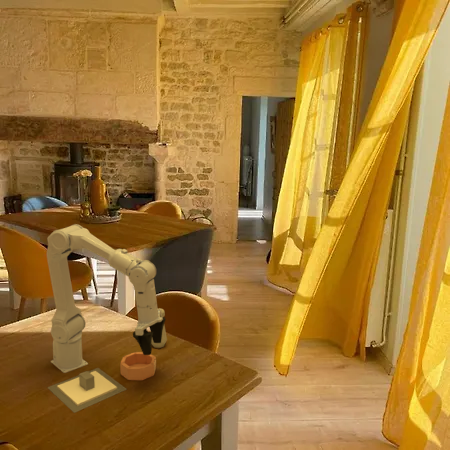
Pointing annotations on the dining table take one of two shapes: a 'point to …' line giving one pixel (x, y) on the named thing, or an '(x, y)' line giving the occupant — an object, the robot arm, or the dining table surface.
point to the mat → (76, 408)
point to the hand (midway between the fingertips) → (152, 348)
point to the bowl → (138, 366)
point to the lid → (86, 387)
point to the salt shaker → (164, 337)
